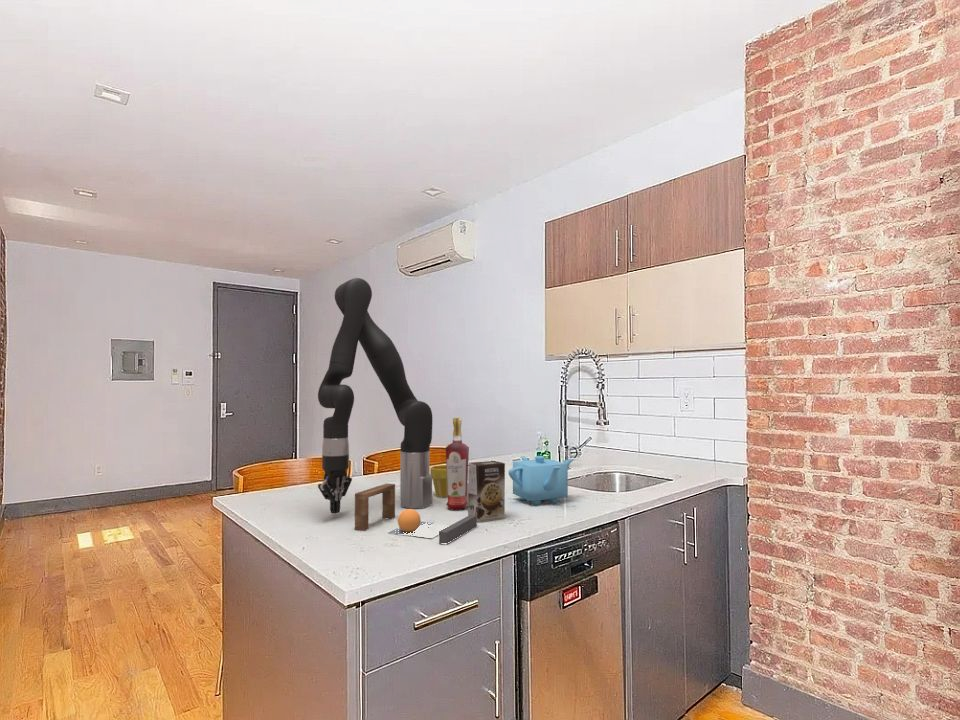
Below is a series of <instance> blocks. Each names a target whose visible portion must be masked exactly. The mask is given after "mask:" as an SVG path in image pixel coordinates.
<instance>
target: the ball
mask: <svg viewBox="0 0 960 720" xmlns="http://www.w3.org/2000/svg"><path fill="white" fill-rule="evenodd" d="M421 520H422V519H421V516H420V513H419V512H418V511H417V510H415V509H414V508H406V509H404V510H403V511H401V512H400V513H399V515H398V517H397V525H398V528H399V527H400V529H401V530H403V531H404V532H413V531H415V530H416V529H417V528H418V527H419V525H420V522H421Z"/></svg>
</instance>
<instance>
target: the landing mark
mask: <svg viewBox="0 0 960 720" xmlns="http://www.w3.org/2000/svg"><path fill="white" fill-rule="evenodd" d="M426 522H427V521H421V522H420V525H423V524H425V523H426ZM422 523H423V524H422ZM428 523H431V524H433V523H434V522H427V524H428ZM431 524H428V525H431ZM420 525H419V526H420ZM398 528H399V529H398ZM428 528H429V527H428ZM395 530H396V531H395ZM398 530H399V531H398ZM395 532H396V533H395ZM398 532H399V533H398ZM403 532H404V531H403V530H401V529H400V527H399V526H398V527H397V528H395V529H392V530H390V531H389V532H387V533H388V534H390V533H395V534H394V535H397V534H404V533H406V532H404V533H403ZM408 533H410V532H407V533H406V534H408ZM411 533H413V532H411ZM414 533H415V532H414ZM412 535H413V534H412ZM409 537H411V535H410V536H409Z"/></svg>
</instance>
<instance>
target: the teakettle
mask: <svg viewBox="0 0 960 720" xmlns="http://www.w3.org/2000/svg"><path fill="white" fill-rule="evenodd" d="M545 457H546V456H545V455H544V456H543V455H535V456H534V459H528V458H527V457H526V456H520V458H521V460H515V461H512V467H511V468H510V469H509V470H508V475H509V478H510V479H511V480H512V495H516V496H517V497H520V501H521V502H531V503H530V505H531V506H541V501H546V500H549V503H551V504H560V501H559V499H562V498H568V497H569V496H568V494H569V492H568V491H569V490H568V489H569V486H568V484H569V482H568V480H569V479H568V475H569V474H568V473H569V472H568V471H569V466H570V464H571V463H572V462H573V461H574V460H575V458H570V459H566V460H565V461H564V462H562V461H558V460H554V459H550V458H545Z"/></svg>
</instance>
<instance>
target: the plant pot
mask: <svg viewBox="0 0 960 720" xmlns="http://www.w3.org/2000/svg"><path fill="white" fill-rule="evenodd" d="M430 474H431V475H432V485H433V487H434V492H435V496H436V497H439V498H448V494H447V469H446V464H438V465H433V466H430Z"/></svg>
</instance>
